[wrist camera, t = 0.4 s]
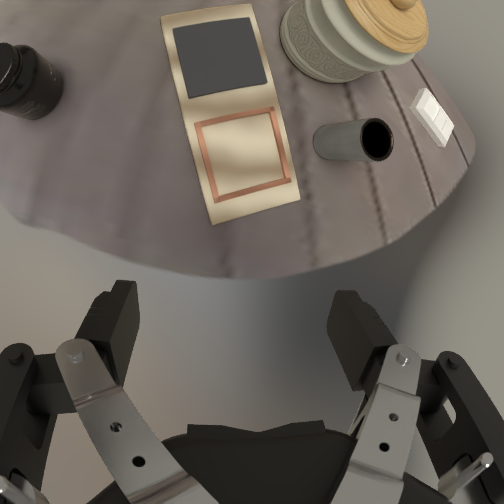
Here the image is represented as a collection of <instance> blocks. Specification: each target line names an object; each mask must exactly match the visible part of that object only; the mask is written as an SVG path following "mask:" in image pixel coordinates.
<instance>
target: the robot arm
mask: <svg viewBox="0 0 504 504" xmlns="http://www.w3.org/2000/svg"><path fill="white" fill-rule="evenodd" d="M139 323H140V312H139V303H138V293H137V284H136V282H135V281H127V280H116V282H115V284H114V286H113V288H112V290H111V292H106V291H104V292H102V293H101V294H100V295H99V296H98V297H96V298H95V299H94V301H93V303H92V305H91V308H90V309H89V311H88V313H87V315H86V316H85V318H84V320H83V322H82V324H81V326H80V328H79V330H78V332H77V334H76V336H75V338H74V339H71V340H68V341H66V342H64V343H62V344H61V345H60V346H59V347H58V348H57V350H56V353H53V354H42V355H34V352H33V350H32V348H31V347H30V346H28V345H27V344H24V343H16V344H12V345H10V346H8V347H7V348H5V349H4V350H3V351H2V352H1V354H0V504H50V503H49V501H48V499H47V498H46V497H45V496H44V494H42V493H41V486H42V480H43V475H44V470H45V465H46V460H47V456H48V451H49V447H50V443H51V438H52V434H53V430H54V427H55V423H56V419H57V415H58V414H63V413H75V412H78V414H79V416H80V418H81V421H82V422H83V425H84V427H85V429H86V430H87V432H88V434H89V436H90V438H91V440H92V442H93V444H94V446H95V447H96V449H97V451H98V453H99V455H100V456H101V458H102V460H103V461H104V463H105V465H106V466H107V468H108V470H109V471H110V473H111V475H112V476H113V478H114V479H115V480H114V481H113V482H112V483H111V484H110V485H109V486H107V487H106V488H105V489H104V490H103V491H101V492H100V493H99V494H98V495H97V496H95V497H94V498H93V499H92V500H91V501H89V502H88V503H87V504H504V420H503V419H502V417H501V415H500V414H499V412H498V410H497V409H496V407H495V405H494V404H493V402H492V401H491V399H490V397H489V396H488V394H487V393H486V391H485V390H484V388H483V387H482V385H481V384H480V382H479V381H478V379H477V378H476V376H475V375H474V373H473V372H472V370H471V369H470V367H469V366H468V365H467V363H466V362H465V360H464V359H463V358H462V357H461V356H460V355H458V354H456V353H454V352H451V351H444V352H441V353H440V354H439V356H438V358H437V359H436V361H430V360H423V359H421V358H420V356H419V354H418V353H417V352H416V351H415V350H414V349H412V348H410V347H408V346H406V345H402V344H398V343H397V341H396V340H395V338H394V337H393V335H392V334H391V332H390V331H389V329H388V328H387V326H386V325H384V322H383V320H382V319H381V318H380V316H379V315H378V313H377V312H376V310H375V309H374V308H373V307H372V306H370V305H369V304H368V303H366V302H363V301H362V299H361V298H360V297H359V295H358V293H357V292H356V291H354V290H338V291H337V292H336V293H335V296H334V299H333V303H332V306H331V309H330V313H329V316H328V320H327V333H328V336H329V338H330V340H331V343H332V345H333V347H334V349H335V352H336V354H337V356H338V358H339V361H340V363H341V365H342V367H343V370H344V372H345V374H346V377H347V379H348V381H349V383H350V386H351V388H352V390H353V391H360V390H364V391H365V395H364V397H363V399H362V401H361V404H360V406H359V408H358V411H357V413H356V416H355V418H354V420H353V422H352V425H351V427H350V429H349V431H348V434H344V433H342V432H338V431H335V430H329V429H325V426H324V422H323V420H319V421H309V422H298V423H290V424H287V425H284V426H280V427H277V428H273V429H270V430H266V431H262V432H253V431H248V430H242V429H237V428H232V427H227V426H223V425H193V424H188V427H187V433H186V434H181V435H177V436H173V437H171V438H168V439H165V440H163V441H162V442H161V441H160V440H159V439H158V438H157V436H156V435H155V434H154V432H153V431H152V430H151V428H150V427H149V426H148V424H147V423H146V421H145V420H144V419H143V417H142V416H141V415H140V413H139V412H138V410H137V409H136V407H135V406H134V404H133V403H132V401H131V400H130V398H129V397H128V395H127V394H126V393H125V391H124V389H123V385H124V381H125V377H126V373H127V369H128V365H129V362H130V358H131V354H132V350H133V347H134V343H135V340H136V336H137V333H138V329H139ZM447 399H449V400H450V402H451V404H452V406H453V408H454V410H455V412H456V420H455V422H454V424H453V423H452V421H451V419H450V417H449V415H448V414H447V411H446V410H445V408H444V406H443V404H444V403H445V402H446V400H447ZM415 426H417V428H418V431H419V433H420V435H421V437H422V440H423V442H424V444H425V447H426V449H427V451H428V454H429V456H430V459H431V461H432V463H433V466H434V468H435V471H436V473H437V476H438V478H439V482H438V491H437V490H435V489H433V488H431V487H430V486H428V485H426V484H425V483H423V482H421V481H420V480H418V479H416V478H415V477H413V476H411V475H410V474H408V473H407V472H405V471H404V470H405V466H406V463H407V459H408V455H409V451H410V448H411V444H412V439H413V435H414V431H415Z"/></svg>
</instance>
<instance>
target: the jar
mask: <svg viewBox="0 0 504 504" xmlns="http://www.w3.org/2000/svg"><path fill="white" fill-rule="evenodd" d="M280 38H281V43H282V46H283V48H284V50H285V52H286V54H287V56H288V57H289V59H290V60H291V61H292V62H293V64H294V65H295V66H296V67H297V68H299V69H300V70H301V71H302V72H304V73H305V74H307V75H308V76H310V77H312V78H314V79H316V80H319V81H323V82H328V83H343V82H348V81H351V80H354V79H357V78H359V77H360V76H362V75H365V74H368V73H371V72H377V71H382V70H385V69H387V68H389V67H390V66H398V65H402V64H405V63H407V62H409V61H410V60H411V59H412V58H413V57H414V56H415V54H416V52H418V51H419V50H421V49H422V48H423V47H424V46H425V44H426V42H427V38H428V22H427V18H426V14H425V11H424V7H423V5H422V3H421V1H420V0H298V1H297V2H295V3H294V4H293V5H292V6H291V7H290V8H289V9H288V10H287V11H286V13H285V15H284V17H283V20H282V23H281V26H280Z"/></svg>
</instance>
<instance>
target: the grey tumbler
mask: <svg viewBox="0 0 504 504" xmlns="http://www.w3.org/2000/svg"><path fill="white" fill-rule="evenodd" d="M393 144H394V140H393V134H392V132H391V129H390V128H389V126H388V125H387V124H386V123H385V122H384V121H383V120H381V119H379V118H368V119H361V120H355V121H348V122H342V123H337V124H331V125H326V126H322V127H320V128H319V129H318V130H317V131H316V132H315V134H314V138H313V145H314V149H315V151H316V152H317V154H318V155H319V156H320V157H322V158H324V159H327V160H353V161H376V162H380V161H383V160H385V159H387V158H388V157H389V155H390V154H391V152H392V149H393Z"/></svg>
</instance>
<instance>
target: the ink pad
mask: <svg viewBox="0 0 504 504" xmlns="http://www.w3.org/2000/svg"><path fill="white" fill-rule="evenodd" d="M172 32H173V36H174V40H175V44H176V49H177V53H178V57H179V61H180V66H181V70H182V74H183V78H184V82H185V86H186V90H187V94H188V98H189V99H191V98H195V97H199V96H204V95H208V94H213V93H218V92H222V91H228V90H233V89H238V88H244V87H250V86H256V85H262V84H266V83H268V81H267V77H266V74H265V70H264V66H263V63H262V59H261V55H260V52H259V48H258V45H257V41H256V38H255V34H254V31H253V27H252V24H251V21H250V17H244V18H234V19H226V20H218V21H211V22H204V23H198V24H193V25H187V26H182V27H177V28H173V30H172Z"/></svg>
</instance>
